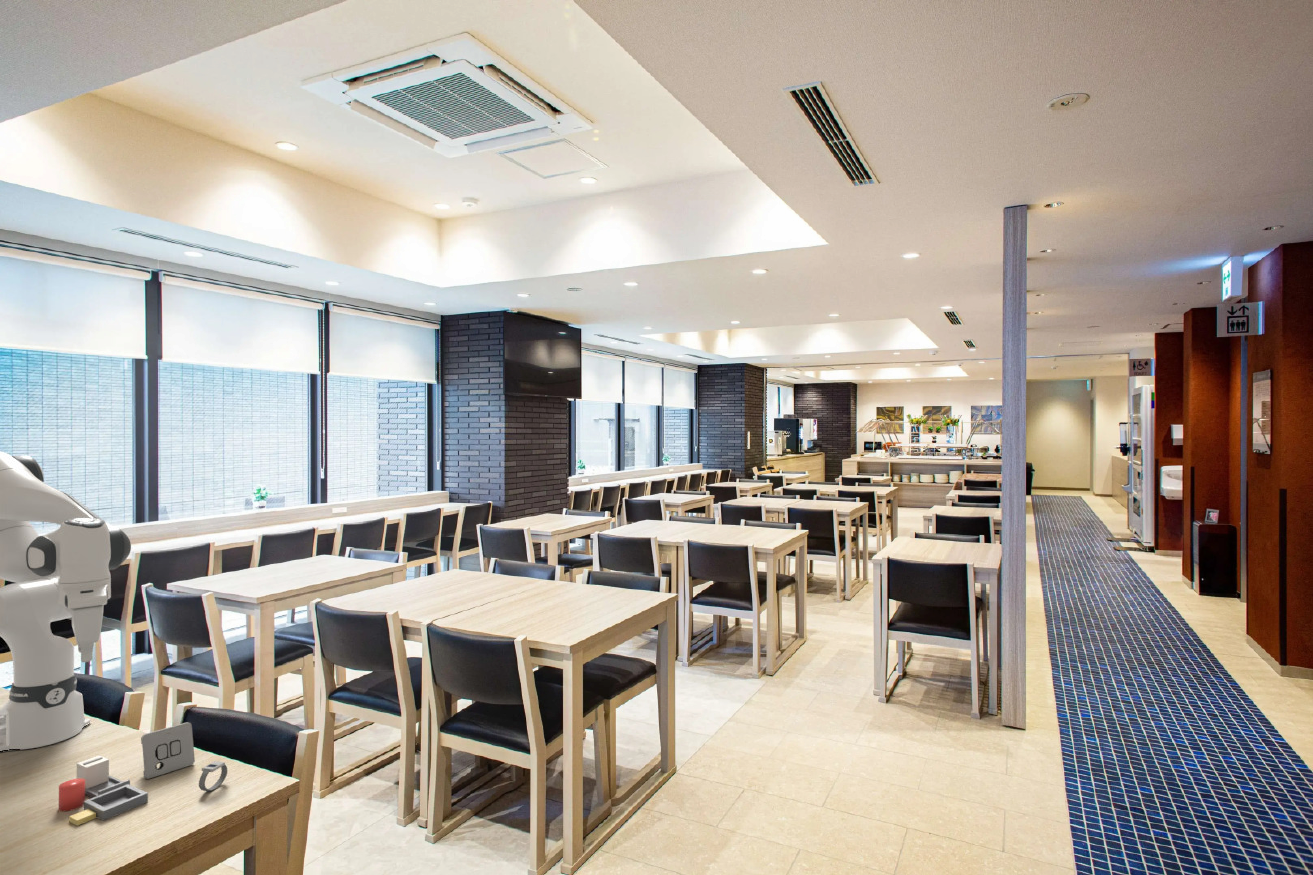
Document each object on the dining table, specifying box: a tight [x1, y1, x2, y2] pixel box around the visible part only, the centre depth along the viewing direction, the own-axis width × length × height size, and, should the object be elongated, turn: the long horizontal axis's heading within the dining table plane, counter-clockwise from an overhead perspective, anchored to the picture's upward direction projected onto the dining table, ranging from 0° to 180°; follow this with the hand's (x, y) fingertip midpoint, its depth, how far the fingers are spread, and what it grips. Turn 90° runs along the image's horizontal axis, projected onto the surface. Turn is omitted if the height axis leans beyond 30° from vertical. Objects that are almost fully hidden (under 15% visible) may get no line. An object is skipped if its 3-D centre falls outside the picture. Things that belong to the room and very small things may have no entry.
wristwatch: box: [198, 760, 228, 792], centre depth 142 cm, size 6×3×5 cm, turn 170°
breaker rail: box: [85, 775, 131, 799], centre depth 142 cm, size 13×5×2 cm, turn 63°
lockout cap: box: [58, 778, 86, 812], centre depth 136 cm, size 4×4×4 cm
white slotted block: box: [76, 755, 110, 789], centre depth 144 cm, size 4×4×5 cm
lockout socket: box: [68, 784, 149, 826], centre depth 134 cm, size 8×11×2 cm
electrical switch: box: [140, 722, 196, 780], centre depth 151 cm, size 9×5×9 cm, turn 141°
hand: (85, 656), depth 148 cm, fingers open, 8 cm apart
